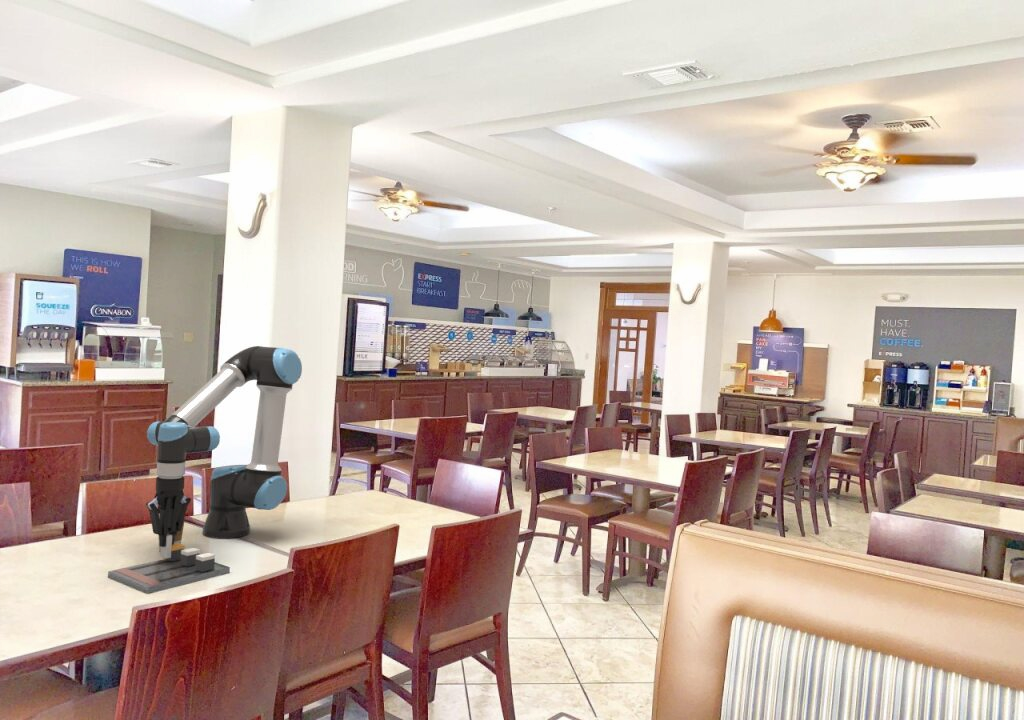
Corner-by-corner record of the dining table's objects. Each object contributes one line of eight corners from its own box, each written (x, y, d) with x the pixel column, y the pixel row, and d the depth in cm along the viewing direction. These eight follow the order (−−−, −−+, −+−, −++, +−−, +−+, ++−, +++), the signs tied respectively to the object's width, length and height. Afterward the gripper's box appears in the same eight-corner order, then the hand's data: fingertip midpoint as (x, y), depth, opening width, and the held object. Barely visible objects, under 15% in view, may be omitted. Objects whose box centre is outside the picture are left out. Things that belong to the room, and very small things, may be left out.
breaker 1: (192, 561, 223) (193, 547, 222) (199, 563, 221) (199, 549, 221) (180, 564, 219) (181, 550, 219) (186, 566, 218) (187, 552, 217)
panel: (189, 558, 231) (189, 553, 231) (229, 572, 220) (229, 566, 220) (107, 577, 210) (108, 571, 210) (147, 593, 199) (148, 587, 199)
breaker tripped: (177, 556, 226) (178, 543, 226) (183, 558, 225) (184, 545, 224) (164, 559, 223) (165, 545, 223) (171, 561, 221) (171, 547, 221)
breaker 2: (207, 566, 219) (208, 552, 219) (214, 568, 217) (215, 554, 217) (195, 569, 215) (196, 555, 215) (201, 571, 214) (202, 557, 214)
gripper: (183, 471, 228) (178, 550, 229) (141, 476, 217) (137, 558, 218) (198, 475, 224) (193, 555, 225) (157, 480, 213) (152, 564, 214)
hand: (165, 556), depth 221 cm, fingers closed
